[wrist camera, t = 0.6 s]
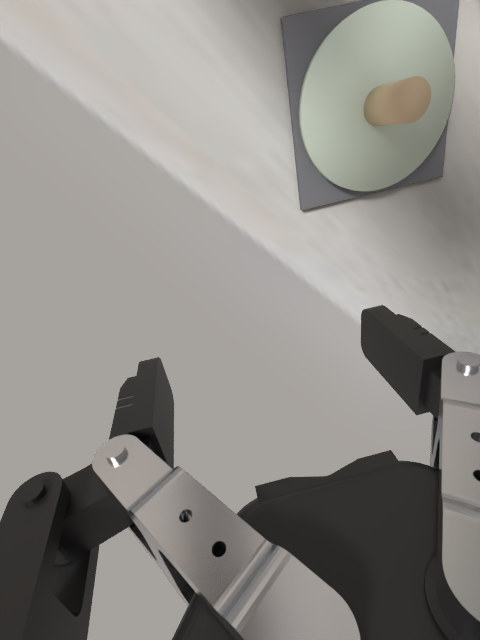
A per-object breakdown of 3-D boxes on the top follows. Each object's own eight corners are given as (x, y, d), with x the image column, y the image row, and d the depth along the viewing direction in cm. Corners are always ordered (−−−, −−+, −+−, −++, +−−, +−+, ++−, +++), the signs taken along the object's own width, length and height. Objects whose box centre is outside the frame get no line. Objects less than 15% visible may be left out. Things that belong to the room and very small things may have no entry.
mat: (280, 19, 29) (282, 16, 28) (455, -17, 30) (461, -20, 29) (300, 209, 37) (302, 210, 36) (438, 176, 37) (442, 176, 37)
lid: (289, 23, 28) (316, -5, 23) (454, -11, 29) (517, -46, 24) (306, 204, 36) (329, 215, 30) (438, 172, 37) (483, 177, 31)
